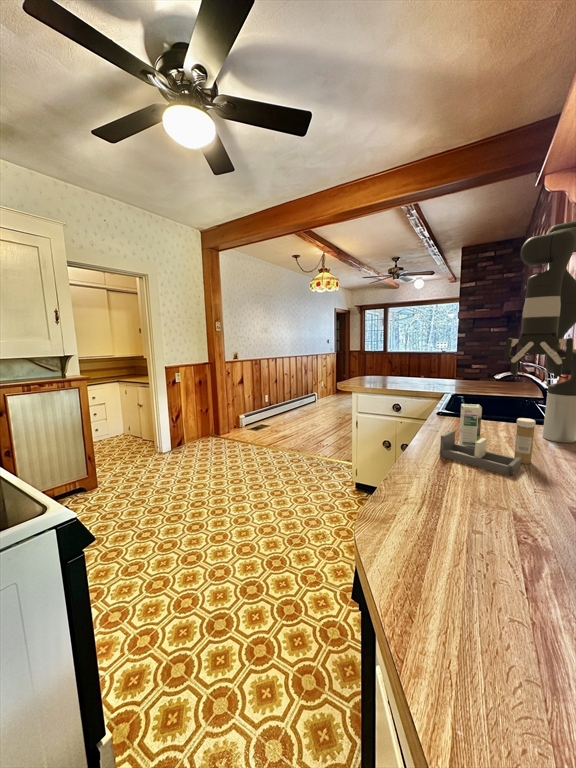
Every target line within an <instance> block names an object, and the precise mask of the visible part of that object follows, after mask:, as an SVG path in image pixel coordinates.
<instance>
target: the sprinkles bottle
mask: <svg viewBox="0 0 576 768" xmlns="http://www.w3.org/2000/svg"><path fill="white" fill-rule="evenodd" d="M535 428H536V420H535V419H532V418H526V417H525V418H524V417H519V418H517V419H516V434H515V444H514V455H513V456H514V457H513V458H517V457H520V458H521V464H532V457H533V456H532V455H533V448H534V436H535V435H534V434H535Z"/></svg>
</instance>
